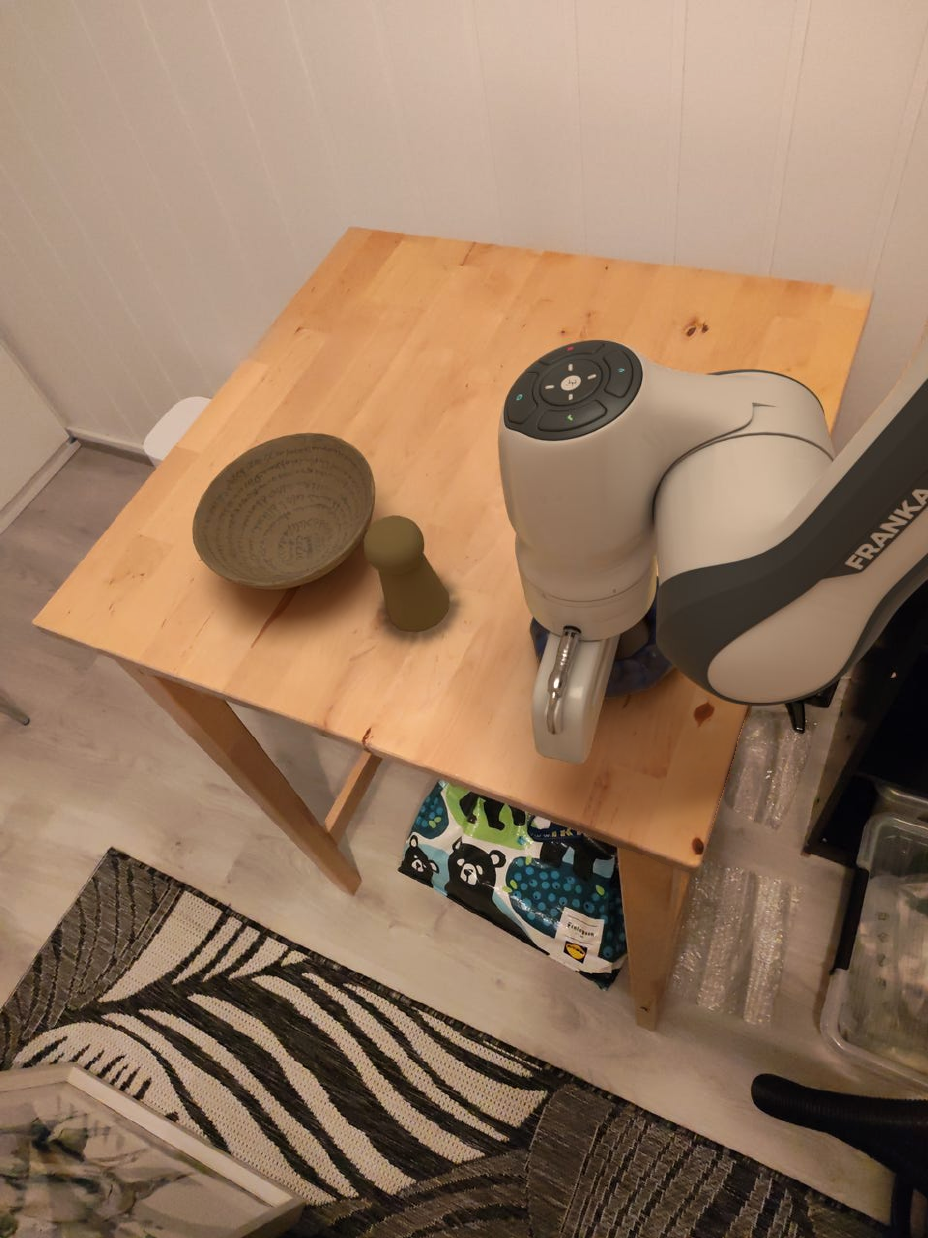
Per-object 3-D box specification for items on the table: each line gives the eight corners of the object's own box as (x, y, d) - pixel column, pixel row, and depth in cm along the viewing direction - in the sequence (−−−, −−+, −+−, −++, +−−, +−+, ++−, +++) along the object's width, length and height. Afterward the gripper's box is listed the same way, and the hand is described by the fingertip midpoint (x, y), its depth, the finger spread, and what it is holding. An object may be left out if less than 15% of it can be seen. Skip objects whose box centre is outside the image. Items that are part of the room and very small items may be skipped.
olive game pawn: (458, 584, 77) (434, 509, 68) (436, 637, 74) (408, 566, 65) (400, 574, 79) (370, 499, 70) (377, 625, 76) (342, 554, 67)
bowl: (191, 607, 81) (152, 560, 75) (273, 473, 90) (244, 420, 83) (352, 645, 75) (325, 597, 69) (423, 498, 84) (405, 443, 77)
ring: (657, 559, 73) (658, 539, 71) (708, 681, 66) (711, 662, 63) (518, 596, 74) (514, 576, 71) (554, 720, 66) (551, 703, 64)
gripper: (599, 721, 47) (607, 804, 58) (665, 463, 57) (660, 578, 68) (496, 700, 49) (523, 784, 60) (577, 454, 59) (587, 567, 70)
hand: (596, 673), depth 64 cm, fingers open, 4 cm apart
